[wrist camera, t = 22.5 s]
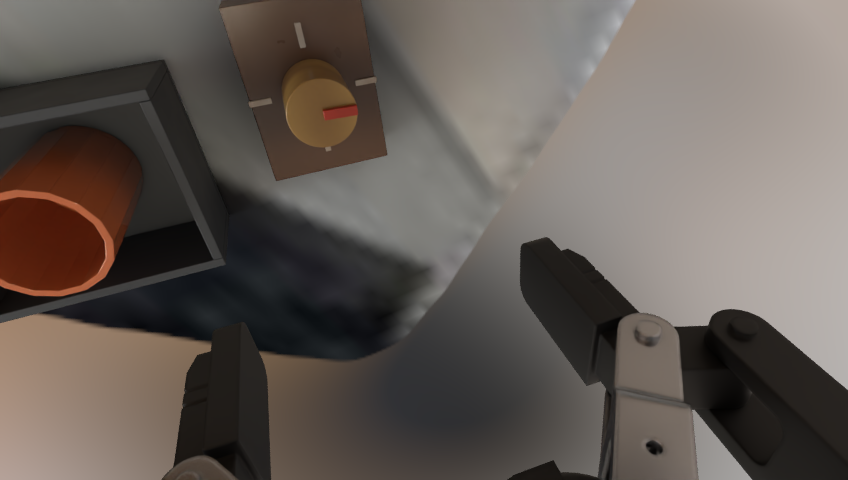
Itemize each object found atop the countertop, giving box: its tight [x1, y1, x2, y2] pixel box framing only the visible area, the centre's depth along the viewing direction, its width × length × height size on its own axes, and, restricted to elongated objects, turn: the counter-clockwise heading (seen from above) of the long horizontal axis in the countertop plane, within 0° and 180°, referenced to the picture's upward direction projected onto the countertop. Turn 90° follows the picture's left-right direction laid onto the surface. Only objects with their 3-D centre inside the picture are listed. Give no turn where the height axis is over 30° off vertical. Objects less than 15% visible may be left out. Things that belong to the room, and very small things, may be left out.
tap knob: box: [281, 59, 358, 147], centre depth 28 cm, size 4×4×5 cm
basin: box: [0, 60, 229, 323], centre depth 29 cm, size 12×14×6 cm
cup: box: [0, 126, 144, 296], centre depth 28 cm, size 6×6×9 cm
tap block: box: [219, 0, 387, 181], centre depth 31 cm, size 11×8×3 cm
